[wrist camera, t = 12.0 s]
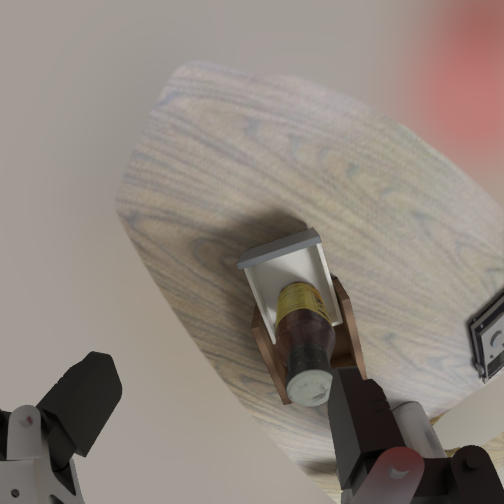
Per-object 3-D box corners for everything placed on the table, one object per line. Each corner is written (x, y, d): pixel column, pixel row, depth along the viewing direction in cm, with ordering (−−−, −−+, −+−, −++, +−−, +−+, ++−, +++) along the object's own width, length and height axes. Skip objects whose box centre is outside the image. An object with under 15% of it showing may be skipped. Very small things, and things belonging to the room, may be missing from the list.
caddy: (355, 351, 42) (367, 380, 34) (283, 373, 44) (284, 405, 36) (336, 277, 39) (349, 298, 32) (255, 303, 42) (250, 329, 34)
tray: (337, 310, 39) (347, 332, 33) (273, 331, 41) (272, 354, 35) (312, 227, 37) (319, 235, 31) (243, 251, 39) (236, 263, 32)
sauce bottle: (321, 316, 39) (349, 415, 20) (279, 321, 40) (276, 424, 20) (319, 273, 37) (354, 356, 18) (273, 279, 38) (268, 367, 19)
